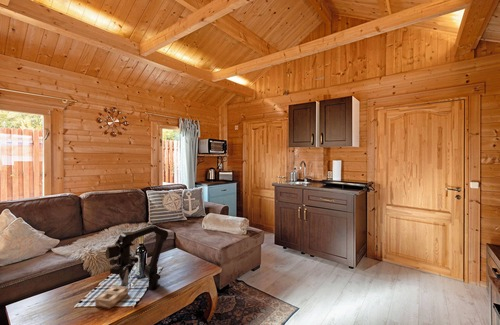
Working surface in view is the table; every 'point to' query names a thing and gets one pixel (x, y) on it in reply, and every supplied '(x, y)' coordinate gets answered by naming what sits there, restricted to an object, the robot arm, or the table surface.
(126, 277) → the peg
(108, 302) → the bore block
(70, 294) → the table surface
